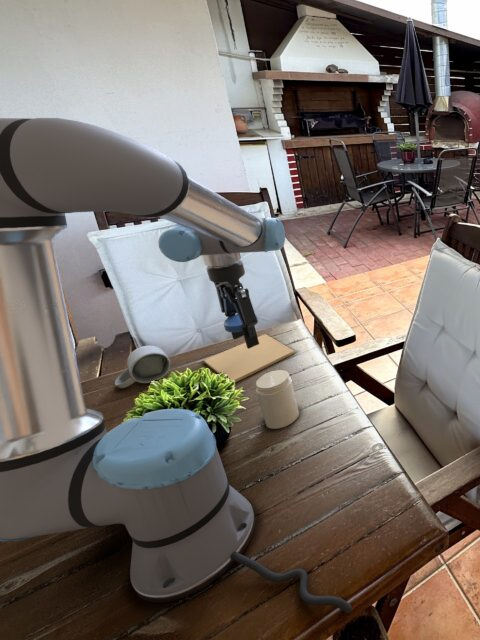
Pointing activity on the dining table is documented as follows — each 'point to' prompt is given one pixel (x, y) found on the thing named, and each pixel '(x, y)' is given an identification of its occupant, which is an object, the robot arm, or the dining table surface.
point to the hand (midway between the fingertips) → (246, 341)
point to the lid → (233, 324)
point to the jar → (277, 399)
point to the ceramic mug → (144, 366)
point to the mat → (249, 358)
